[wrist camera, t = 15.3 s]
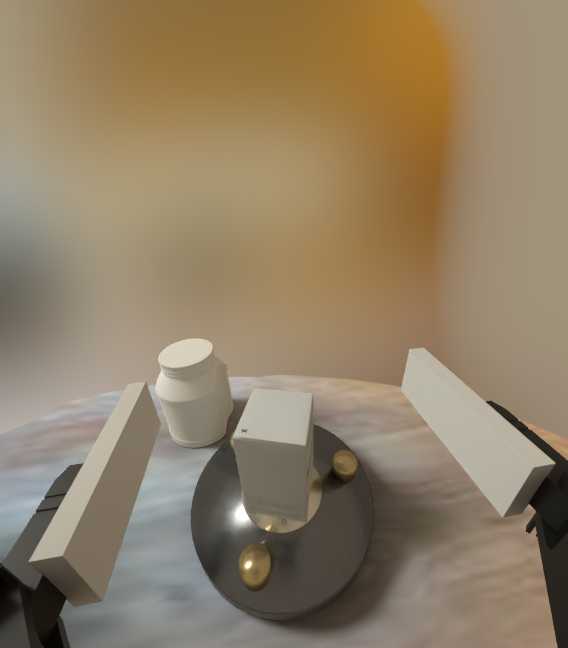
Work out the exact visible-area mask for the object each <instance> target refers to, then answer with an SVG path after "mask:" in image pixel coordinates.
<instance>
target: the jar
mask: <svg viewBox="0 0 568 648" xmlns="http://www.w3.org/2000/svg"><path fill="white" fill-rule="evenodd" d="M158 360H159V364H160V367H161V372H160V375H159V377H158V379H157V383H156V389H155V390H156V393H157V396H158V398H159V400H160V402H161V405H162V408H163V411H164V414H165V417H166V420H167V423H168V425H169V430H170V433H171V436H172V438H173V439H174V441H175V442H176V443H178V444H179V445H181V446H184V447H189V448H199V447H204V446H208V445H210V444H213V443H215V442H217V441H218V440H220V439H221V438H223V437H224V436H225V434H226V431H227V430H226V426H227V421H228V419H229V417H230V415H231V413H232V412H233V409H234V405H233V402H232V396H231V391H230V386H229V380H228V375H227V367H226V364H225V363H224V362H223V361H221V360H220V359H219V358H217V357H216V356H215V353H214V349H213V345H212V344H211V343H210V342H209V341H207V340H204V339H187V340H182V341H179V342H176V343H174V344H172V345H170V346H168V347H167V348H165V349H164V350H163V351H162V352H161V353H160V355H159V358H158Z"/></svg>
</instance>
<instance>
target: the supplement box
mask: <svg viewBox="0 0 568 648" xmlns="http://www.w3.org/2000/svg"><path fill="white" fill-rule="evenodd" d="M232 440H233V445H234V450H235V455H236V461H237V466H238V471H239V476H240V481H241V487H242V492H243V497H244V502H245V507H246V511H247V512H252V513H256V514H262V515H267V516H272V517H277V518H283V519H288V520H294V521H299V522H307V517H308V504H309V494H310V485H311V475H312V467H313V393H305V392H294V391H283V390H270V389H260V388H254V389H253V390H252V393H251V395H250V397H249V400H248V402H247V404H246V407H245V409H244V411H243V413H242V416H241V418H240V421H239V423H238V425H237V428H236V430H235V432H234V434H233V436H232Z"/></svg>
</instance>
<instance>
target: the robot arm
mask: <svg viewBox="0 0 568 648" xmlns="http://www.w3.org/2000/svg"><path fill="white" fill-rule="evenodd" d="M401 391H402V392H403V393H404V395H405V396H406V397H407V398H408V400H409V401H410V402H411V403H412V405H413V406H414V407H415V408H416V410H417V411H418V412H419V413H420V415H421V416H422V417H423V418H424V420H425V421H426V422H427V423H428V425H429V426H430V427H431V428H432V430H433V431H434V432H435V433H436V435H437V436H438V437H439V438H440V440H441V441H442V442H443V443H444V445H445V446H446V447H447V448H448V450H449V451H450V452H451V454H452V455H453V456H454V457H455V459H456V460H457V461H458V462H459V464H460V465H461V466H462V467H463V469H464V470H465V471H466V472H467V474H468V475H469V476H470V477H471V479H472V480H473V481H474V482H475V484H476V485H477V486H478V487H479V489H480V490H481V491H482V492H483V494H484V495H485V496H486V497H487V499H488V500H489V501H490V502H491V504H492V505H493V506H494V507H495V509H496V510H497V511H498V512H499V514H500V515H501V516H502V518H503V517H508V516H513V515H518V514H522V513H523V511H524V510H525V508H526V507H527V505H528V504H530V505H531V506H532V507H533V508H534V509H535V510H536V513H535V515H534V516H533V517H532V519H531V520H530V522H529V523H528V524H527V526H526V532H528V533H531V531H532V530H533V529H534V527H535V526H536V531H537V534H536V536H537V537H538V542H539V548H540V553H541V559H542V564H543V570H544V575H545V580H546V586H547V591H548V597H549V602H550V608H551V613H552V619H553V624H554V630H555V635H556V641H557V646H558V648H568V460H566V459H565V458H564V457H563V456H562V455H560V454H559V453H558V452H557V451H556V450H554V449H553V448H552V447H551V446H550V445H548V444H547V443H546V442H545V441H544V440H542V439H541V438H540V437H539V436H538V435H536V434H535V433H534V432H533V431H532V430H529V429H528V427H527V426H526V425H524V424H523V423H522V422H521V421H518V419H517V418H516V417H515V416H514V415H512V414H511V413H510V412H509V411H508V410H506V409H505V408H503V407H501V406H499V405H497V404H496V403H494V402H492V401H486V402H485V401H483V400H482V399H481V398H480V397H479V396H478V395H477V394H476V393H475V392H474V391H472V390H471V389H470V388H469V387H468V386H467V385H465V384H464V383H463V382H462V381H461V380H460V379H459V378H457V377H456V376H455V375H454V374H453V373H452V372H451V371H449V370H448V369H447V368H446V367H445V366H444V365H443V364H441V363H440V362H439V361H438V360H437V359H436V358H434V357H433V356H432V355H431V354H430V353H429V352H428V351H426V350H425V349H424V348H417V349H410V350H409V355H408V359H407V364H406V369H405V374H404V378H403V383H402V388H401ZM160 425H161V423H160V420H159V417H158V414H157V411H156V409H155V406H154V403H153V400H152V397H151V395H150V392H149V389H148V386H147V383H146V382H139V383H130V384H128V385H127V387H126V389H125V391H124V393H123V394H122V396H121V398H120V400H119V401H118V403H117V405H116V407H115V409H114V410H113V412H112V414H111V416H110V418H109V419H108V421H107V423H106V425H105V426H104V428H103V430H102V432H101V434H100V435H99V437H98V439H97V441H96V442H95V444H94V446H93V448H92V450H91V451H90V453H89V455H88V457H87V458H86V460H85V462H84V463H82V464H76V465H70V466H69V467H68V468H67V469H66V470H65V471H64V472H63V473H62V474H61V475H60V476H59V477H58V478H57V479H56V480H55V481H54V483H53V484H52V486H51V488H50V489H49V491H48V492H47V494H46V496H45V499H44V500H42V502H41V503H40V505H39V507H38V508H37V510H36V514H34V515H33V516H32V518H31V519H30V521H29V523H28V524H27V526H26V527H25V529H24V531H23V532H22V534H21V535H20V537H19V539H18V540H17V542H16V543H15V545H14V547H13V548H12V550H11V551H10V553H9V555H8V556H7V558H6V559H5V561H4V562H3V564H1V563H0V648H70V646H69V642H68V638H67V635H66V631H65V627H64V624H63V620H62V619H61V617H60V616H59V615H60V612H61V610H62V607H63V605H64V603H65V600H66V599H67V600H68V601H69V602H70V603H71V604H72V605H73V606H74V607H76V606H80V605H85V604H90V603H95V602H100V601H103V598H104V595H105V592H106V589H107V586H108V583H109V580H110V577H111V574H112V571H113V568H114V565H115V561H116V558H117V555H118V552H119V549H120V546H121V543H122V540H123V537H124V534H125V531H126V528H127V525H128V522H129V519H130V516H131V513H132V510H133V507H134V504H135V501H136V498H137V495H138V492H139V489H140V486H141V483H142V480H143V477H144V474H145V471H146V467H147V464H148V461H149V458H150V455H151V452H152V449H153V446H154V443H155V440H156V437H157V434H158V431H159V428H160Z"/></svg>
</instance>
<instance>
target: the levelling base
mask: <svg viewBox="0 0 568 648" xmlns="http://www.w3.org/2000/svg"><path fill="white" fill-rule="evenodd" d="M234 432H235V431H234ZM234 432H233V433H232V434H231V436H230V439H229V440H228V441H227V442H225V443H224V444H223V445H222V446H221V447H220V448H219V449H218V450H217V451H216V453H215V454H214V455H213V456H212V457H211V459H210V460H209V462H208V463H207V465H206V466H205V468H204V470H203V472H202V474H201V476H200V478H199V481H198V483H197V486H196V489H195V493H194V496H193V501H192V509H191V529H192V537H193V542H194V545H195V549H196V552H197V555H198V557H199V560H200V562H201V564H202V567H203V569H204V571H205V573H206V575H207V577H208V578H209V580H210V582H211V583H212V585H213V586H214V587H215V589H216V590H217V591H218V592H219V593H220V594H221V595H222V596H223V597H224V598H225V599H226V600H227V601H229V602H230V603H231V604H232V605H234V606H235V607H236V608H238V609H240V610H242V611H244V612H246V613H248V614H250V615H253V616H257V617H260V618H263V619H271V620H290V619H297V618H301V617H304V616H308V615H311V614H313V613H315V612H317V611H319V610H321V609H323V608H325V607H326V606H328V605H329V604H330V603H332V602H333V601H335V600H336V599H337V598H338V597H339V596H340V595H341V594H342V593H343V592H344V591H345V590H346V589H347V588H348V587H349V585H350V584H351V583H352V581H353V580H354V579H355V577H356V576H357V574H358V572H359V570H360V568H361V566H362V564H363V562H364V559H365V556H366V553H367V551H368V547H369V542H370V537H371V532H372V526H373V513H374V512H373V498H372V493H371V488H370V485H369V482H368V479H367V476H366V474H365V471H364V469H363V467H362V465H361V464H360V462H359V460H358V459H357V457H356V456H355V454H354V453H353V452H352V451H351V449H350V448H349V447H348V446H347V445H346V444H345V443H344V442H343V441H341V440H340V439H339V438H338V437H336V436H335V435H334V434H332V433H331V432H329V431H327V430H325V429H323V428H321V427H319V426H317V425H314V424H313V467H312V475H311V485H310V494H309V504H308V517H307V522H299V521H294V520H288V519H283V518H277V517H272V516H267V515H262V514H256V513H252V512H247V511H246V507H245V502H244V497H243V492H242V487H241V481H240V476H239V471H238V466H237V461H236V455H235V450H234V445H233V440H232V436H233V434H234Z"/></svg>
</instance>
